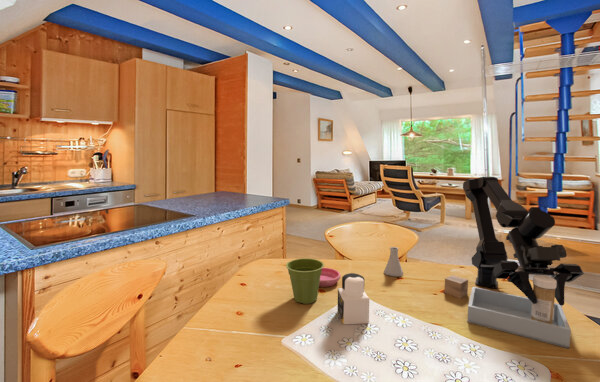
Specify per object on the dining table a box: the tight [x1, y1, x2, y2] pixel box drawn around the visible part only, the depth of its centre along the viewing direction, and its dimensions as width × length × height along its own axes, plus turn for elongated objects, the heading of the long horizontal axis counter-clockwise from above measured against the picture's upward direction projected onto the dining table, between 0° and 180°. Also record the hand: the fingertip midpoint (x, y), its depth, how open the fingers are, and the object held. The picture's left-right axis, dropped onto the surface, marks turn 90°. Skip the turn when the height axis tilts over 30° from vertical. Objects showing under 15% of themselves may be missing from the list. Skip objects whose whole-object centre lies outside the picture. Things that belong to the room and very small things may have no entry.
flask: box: [383, 246, 404, 277], centre depth 114 cm, size 7×7×10 cm
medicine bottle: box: [337, 272, 370, 325], centre depth 82 cm, size 7×7×12 cm
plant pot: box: [285, 257, 325, 305], centre depth 93 cm, size 12×12×11 cm
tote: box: [466, 286, 572, 349], centre depth 80 cm, size 15×21×4 cm
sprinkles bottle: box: [531, 275, 557, 325], centre depth 75 cm, size 5×5×13 cm
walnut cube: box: [444, 274, 469, 299], centre depth 97 cm, size 5×5×5 cm
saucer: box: [319, 267, 341, 288], centre depth 107 cm, size 12×12×3 cm
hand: (548, 304), depth 74 cm, fingers open, 6 cm apart
